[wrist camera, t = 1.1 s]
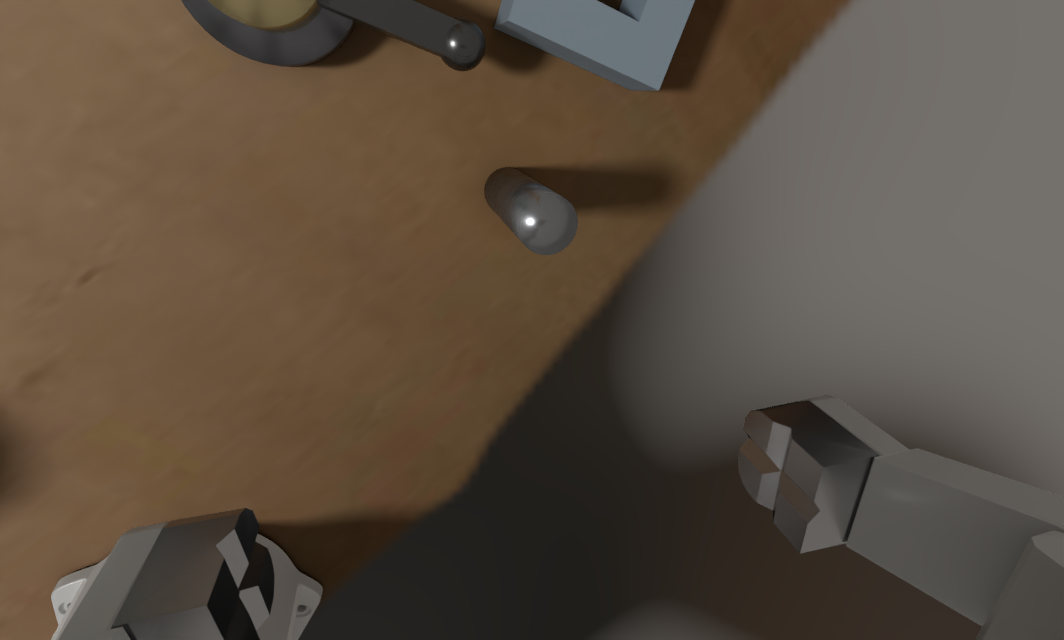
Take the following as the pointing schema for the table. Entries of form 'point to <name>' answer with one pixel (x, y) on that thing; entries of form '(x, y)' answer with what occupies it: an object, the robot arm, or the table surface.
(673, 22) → the slot block
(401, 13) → the brass knob crank
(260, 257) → the table surface
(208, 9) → the crank base
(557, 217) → the pin
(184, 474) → the table surface
